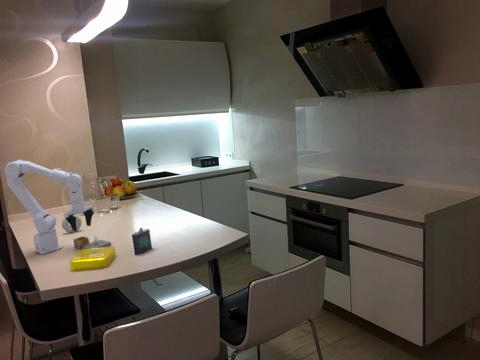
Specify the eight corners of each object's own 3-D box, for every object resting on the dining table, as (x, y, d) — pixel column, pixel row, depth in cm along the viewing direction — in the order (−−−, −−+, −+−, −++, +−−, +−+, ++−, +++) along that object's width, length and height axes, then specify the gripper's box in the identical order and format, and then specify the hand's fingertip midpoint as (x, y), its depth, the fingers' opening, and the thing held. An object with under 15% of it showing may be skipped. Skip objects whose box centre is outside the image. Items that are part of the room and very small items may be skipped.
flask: (149, 247, 183) (146, 224, 181) (153, 248, 181) (151, 225, 179) (133, 254, 176) (129, 230, 174) (137, 255, 174) (134, 231, 172)
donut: (63, 235, 214) (60, 216, 212) (62, 233, 216) (59, 215, 215) (83, 230, 219) (80, 212, 217) (82, 229, 221) (79, 211, 220)
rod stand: (91, 252, 183) (89, 239, 182) (82, 249, 188) (80, 237, 187) (111, 245, 190) (109, 233, 189) (101, 242, 195) (100, 231, 194)
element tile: (117, 255, 177) (115, 244, 177) (107, 268, 163) (105, 257, 162) (82, 258, 177) (81, 247, 176) (69, 272, 162) (67, 260, 161)
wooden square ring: (79, 249, 188) (78, 240, 188) (74, 247, 192) (73, 239, 191) (89, 245, 192) (88, 237, 191) (84, 244, 195) (83, 236, 195)
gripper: (68, 204, 181) (73, 233, 184) (95, 196, 193) (100, 224, 195) (59, 203, 185) (64, 232, 187) (86, 196, 197) (91, 223, 199)
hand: (81, 228), depth 192 cm, fingers open, 7 cm apart
